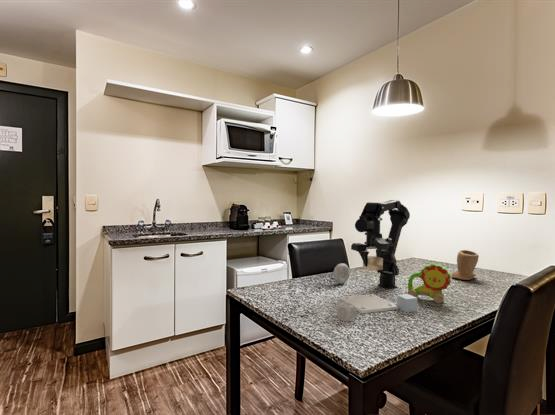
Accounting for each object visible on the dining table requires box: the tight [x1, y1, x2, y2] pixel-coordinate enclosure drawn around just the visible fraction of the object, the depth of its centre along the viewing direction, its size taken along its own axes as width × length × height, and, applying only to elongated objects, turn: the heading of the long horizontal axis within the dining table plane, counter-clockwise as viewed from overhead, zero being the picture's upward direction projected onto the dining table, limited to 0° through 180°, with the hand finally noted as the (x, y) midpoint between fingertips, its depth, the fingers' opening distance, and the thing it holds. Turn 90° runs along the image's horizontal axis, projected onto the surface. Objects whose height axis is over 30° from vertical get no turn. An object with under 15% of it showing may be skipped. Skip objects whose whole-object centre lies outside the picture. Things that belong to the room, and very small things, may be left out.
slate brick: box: [396, 293, 418, 313], centre depth 119 cm, size 5×5×5 cm
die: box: [336, 302, 358, 323], centre depth 108 cm, size 5×5×5 cm
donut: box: [332, 262, 351, 285], centre depth 153 cm, size 10×4×10 cm, turn 125°
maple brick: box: [362, 255, 383, 271], centre depth 139 cm, size 6×6×5 cm
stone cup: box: [450, 249, 480, 281], centre depth 167 cm, size 15×12×15 cm
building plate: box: [338, 293, 399, 314], centre depth 124 cm, size 16×16×2 cm
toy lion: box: [406, 262, 452, 304], centre depth 130 cm, size 16×5×15 cm, turn 59°
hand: (372, 266), depth 139 cm, fingers closed on maple brick, 6 cm apart
